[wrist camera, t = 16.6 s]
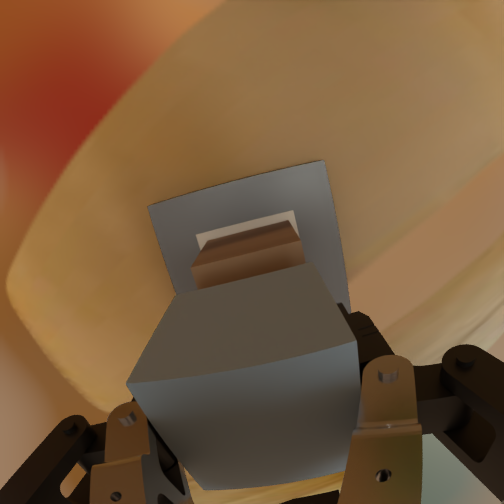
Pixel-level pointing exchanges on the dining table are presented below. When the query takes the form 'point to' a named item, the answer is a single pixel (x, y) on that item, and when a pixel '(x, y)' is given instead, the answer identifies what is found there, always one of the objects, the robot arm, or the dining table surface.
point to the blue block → (253, 381)
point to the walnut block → (248, 255)
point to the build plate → (255, 221)
